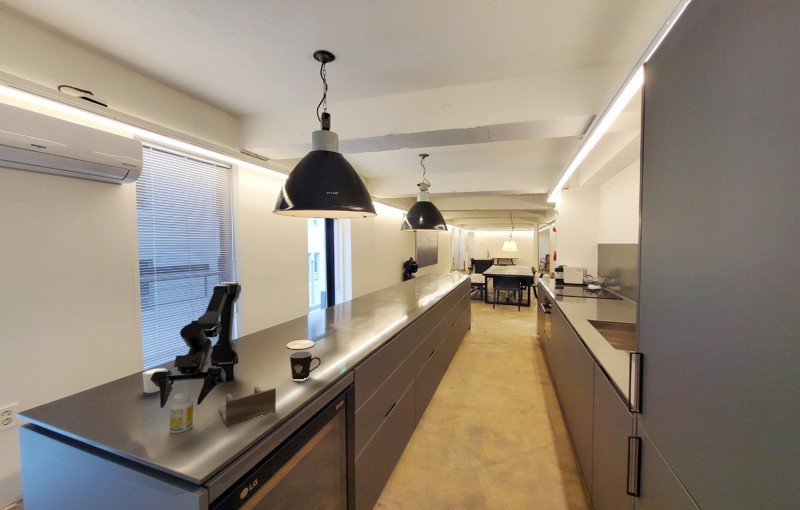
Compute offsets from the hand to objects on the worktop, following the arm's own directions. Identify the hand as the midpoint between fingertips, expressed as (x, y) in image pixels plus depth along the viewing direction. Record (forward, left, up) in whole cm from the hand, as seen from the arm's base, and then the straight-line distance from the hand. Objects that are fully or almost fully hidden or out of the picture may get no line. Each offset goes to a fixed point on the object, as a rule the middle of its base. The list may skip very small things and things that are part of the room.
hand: (180, 405), depth 86 cm
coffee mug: (-37, -23, -7) cm, 44 cm away
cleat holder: (-17, -4, -7) cm, 19 cm away
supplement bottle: (0, -1, -7) cm, 7 cm away
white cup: (+15, -36, -7) cm, 40 cm away
